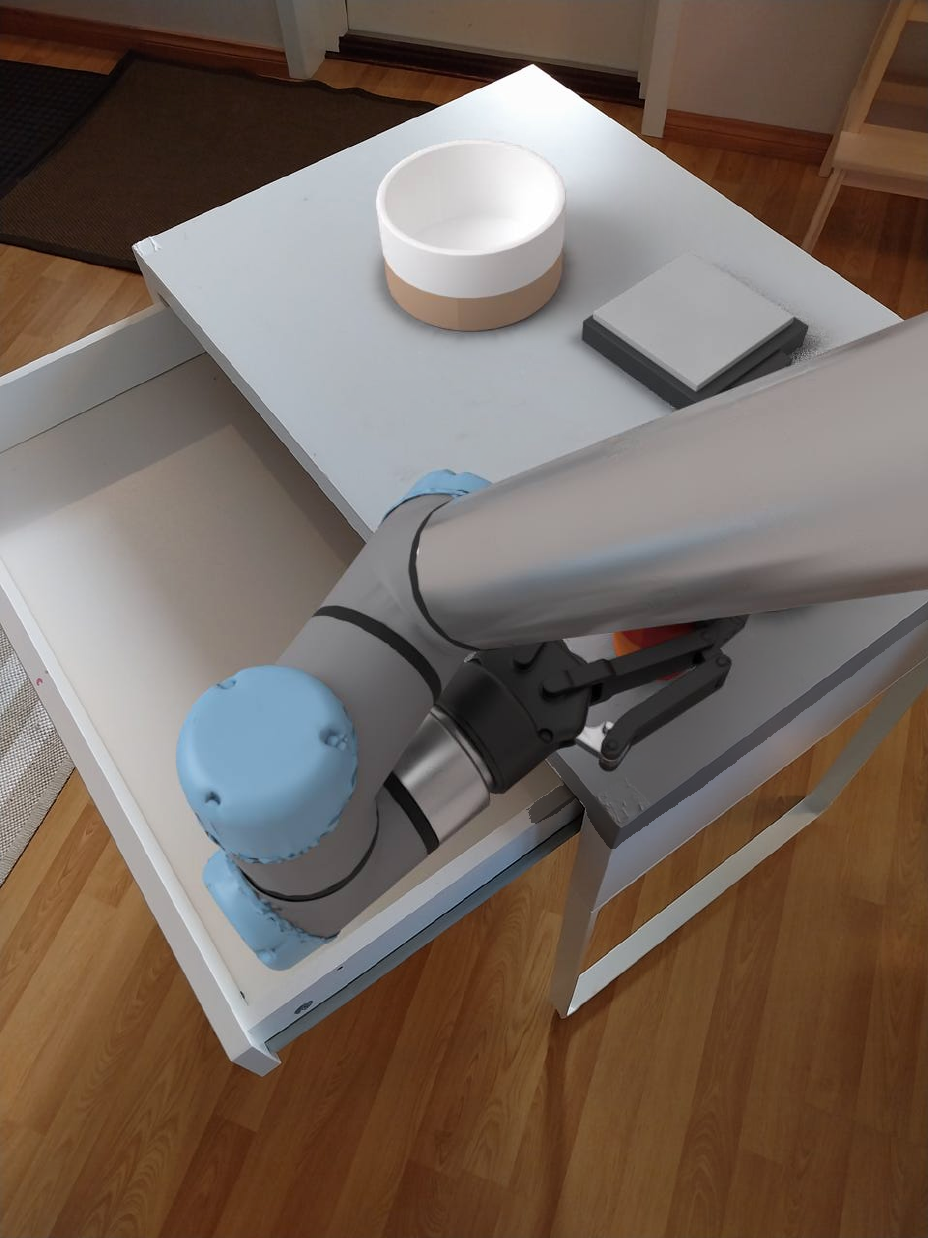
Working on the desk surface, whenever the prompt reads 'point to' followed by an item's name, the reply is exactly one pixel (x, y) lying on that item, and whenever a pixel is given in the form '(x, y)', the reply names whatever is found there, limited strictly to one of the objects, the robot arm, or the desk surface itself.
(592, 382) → the desk surface
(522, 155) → the bowl
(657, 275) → the scale
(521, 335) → the desk surface
